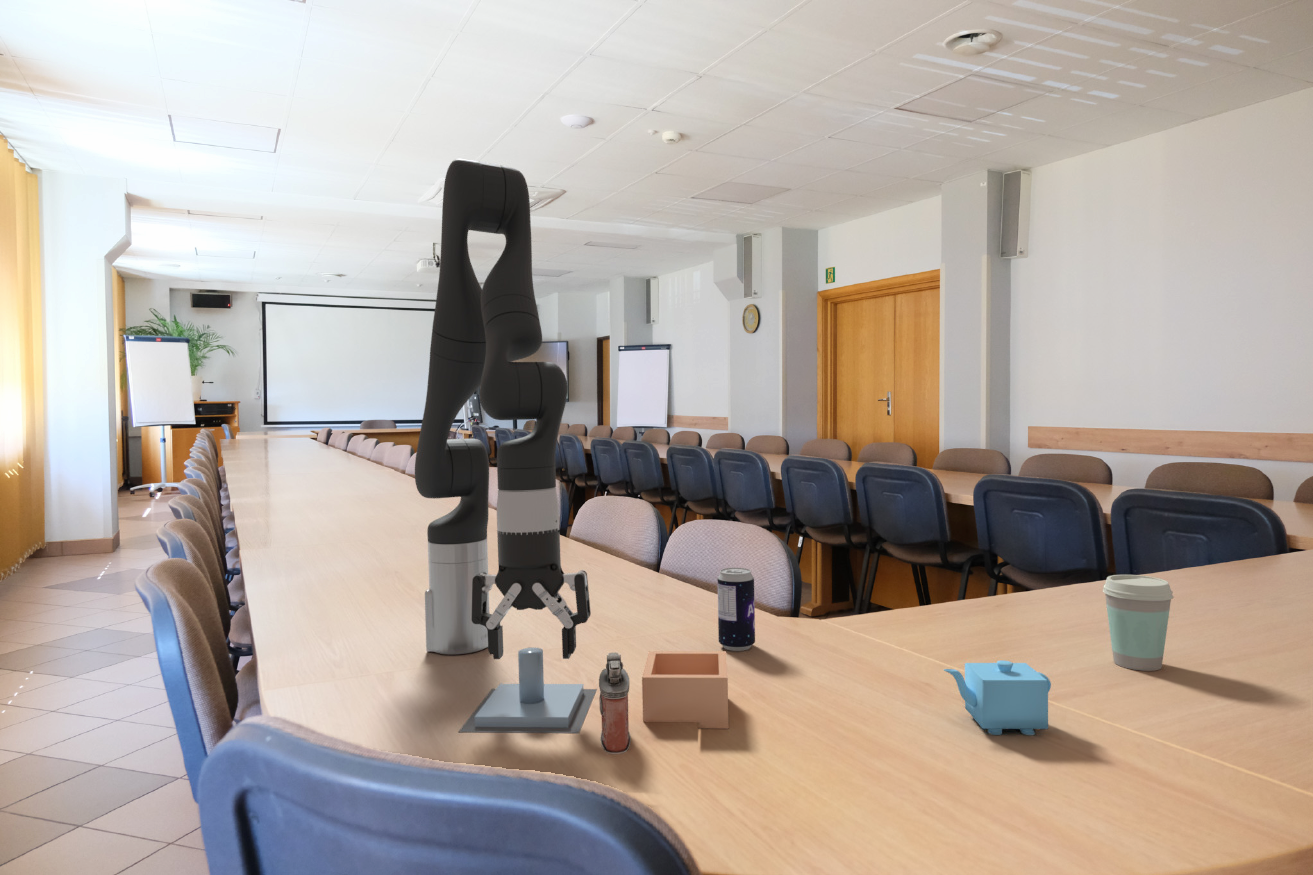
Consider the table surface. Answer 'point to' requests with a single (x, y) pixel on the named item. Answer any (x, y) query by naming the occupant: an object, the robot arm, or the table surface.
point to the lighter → (614, 706)
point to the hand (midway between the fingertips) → (532, 657)
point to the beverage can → (736, 609)
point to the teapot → (1005, 696)
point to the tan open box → (686, 688)
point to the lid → (530, 698)
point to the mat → (573, 727)
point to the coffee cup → (1138, 620)
